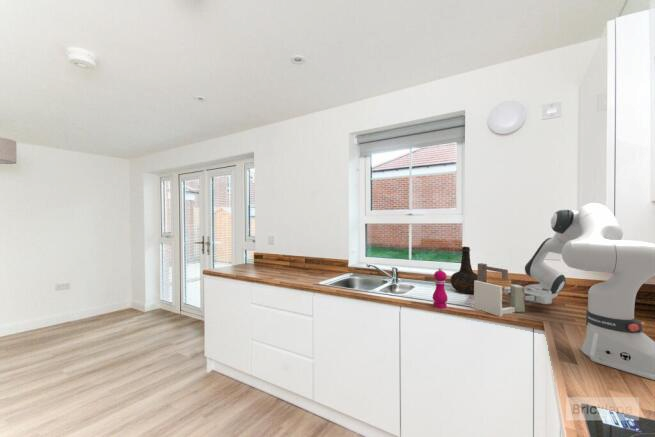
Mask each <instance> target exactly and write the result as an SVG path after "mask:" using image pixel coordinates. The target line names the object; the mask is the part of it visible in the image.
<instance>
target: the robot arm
mask: <svg viewBox="0 0 655 437" xmlns="http://www.w3.org/2000/svg"><path fill="white" fill-rule="evenodd" d="M550 225H551V229H552V231H553V232H554V233H555V234H554V235H553V236H552V237H548V238H546V239H545V240H543V242H542V243H541V244H540V246H539V247H538V248H537V250H535V253H534V254H533V255H532V257H531V258H530V259H529V261H528V262H526V264H525V266H524V272H525V274H526V275H527V276H528V277H530V278H532V279H534V280H535V281H537V282H538V283H534V284H527V285H525V286H524V287H525V296H524V300H525V301H527V302H529V303H533V304H534V303H539V304H542V305H551V304H552V300H553V299H555V298H556V297H557V296H558V295H559V294H560V292H562V291H563V289H564V288H565V287H566V285H567V283H566V282H567V280H566V277H565V275H564V274H563V273H561V272H560V271H558V270H556V269H554V268H553V267H551V266H549V265H548V264H547V263H546V262H544V260H545V259H546V257H547V255H548V254H549V253H553V254H554V253H555V254H557V255H561V259H562V260H563V263H565V265H566V266H567V267H569V268H572V269H576V270H581V271H585V272H595V273H596V272H598V273H610V274H611V276H610V278H608V279H607V280H606V281H602V282H601V281H600V282H598V283H595V284H593V285H591V287H590V288H588V291H587V296H588V297H587V300H588V301H587V310H586V313H585V323H586V324H585V325H586V333H585V336H584V337H585V338H584V340H583V344H582V347H581V348H580V350H581V352H582V353H583V354H584V355H586V356H587V357H588V358H589V359H590V360H591V361H592V362H593V363H598V364H600V365H604V366H607V367H610V368H614V369H616V370H620V371H623V372H626V373H630V374H633V375H637V376H639V377H644V378H647V379H649V380H653V381H655V341H654V340H653V339H652V338H651V337H649V336H648V335H647V334H645V333H644V332H643V327H644V326H645V322H644V321H642V322H640V321H638V319H636V317H635V307H636V306H635V304H636V303H635V302H636V297H637V293H638V292H639V290H640V288H641V287H642V286H643V284H645V283H646V281H649V279H651V278H653V277H655V243H653V242H647V241H642V240H632V239H631V240H630V239H629V240H627V239H625V240H624V239H622V238H623V233H624V232H623V230H622V227H621V225H620V224H619V221H618V220H617V217H616V216H615V214H614V213H613V212H612V211H611V210H610V209H609V208H608V207H607V206H605V205H604V204H601V203H597V202H590V203H587V204H585V205H583V206H581V208H580V209H579V210H571V209H560V210H557V211H555V213H554V214H553V215H552V217H551V219H550ZM503 294H504V295H505V296H508V297H510V286H507V287H506V286H505V287H504V288H503Z"/></svg>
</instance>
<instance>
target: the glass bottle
mask: <svg viewBox="0 0 655 437" xmlns="http://www.w3.org/2000/svg"><path fill="white" fill-rule="evenodd" d="M460 251H461V262H460V268H459V270H458V271H457V272H454V273H453V274H451V276H450V284H451V286H452V288H453V289H454V290H455V291H456V292H459V293H460V294H461V293H462V294H468V295H469V294H470V295H471V294H474V281H478V273H475V271H474V270H473V269H472V268H473V267H472V264H471V254H470V253H471V252H470V251H471V248H470V247H469V246H462V247H461V249H460Z"/></svg>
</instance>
